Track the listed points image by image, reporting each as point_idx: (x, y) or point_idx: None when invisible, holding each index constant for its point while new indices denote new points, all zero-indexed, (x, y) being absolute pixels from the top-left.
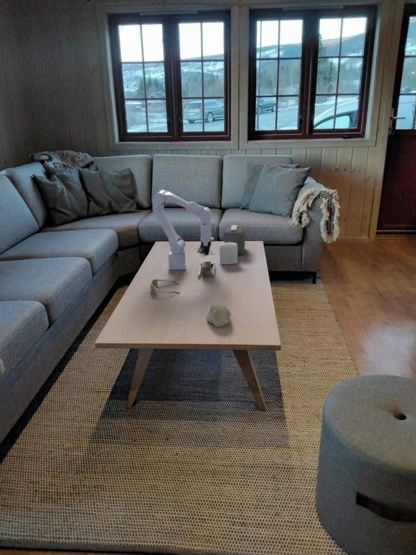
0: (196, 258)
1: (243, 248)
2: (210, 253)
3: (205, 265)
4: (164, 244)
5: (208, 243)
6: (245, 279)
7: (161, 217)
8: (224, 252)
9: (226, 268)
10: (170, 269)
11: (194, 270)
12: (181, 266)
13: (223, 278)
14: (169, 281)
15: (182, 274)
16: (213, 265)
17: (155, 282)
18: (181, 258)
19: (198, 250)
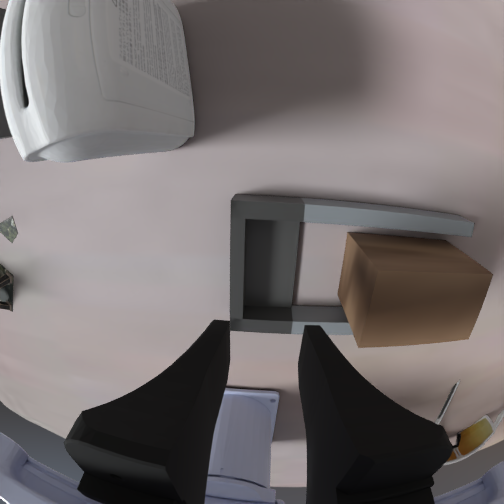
0: (81, 324)
1: (4, 10)
2: (5, 236)
3: (453, 315)
4: (8, 400)
5: (363, 490)
6: (484, 27)
7: None
8: (146, 84)
9: (289, 92)
10: (271, 441)
11: (299, 347)
12: (268, 419)
13: (476, 152)
14: (436, 422)
15: None
16: (289, 216)
17: None
18: (265, 461)
19: (2, 306)
